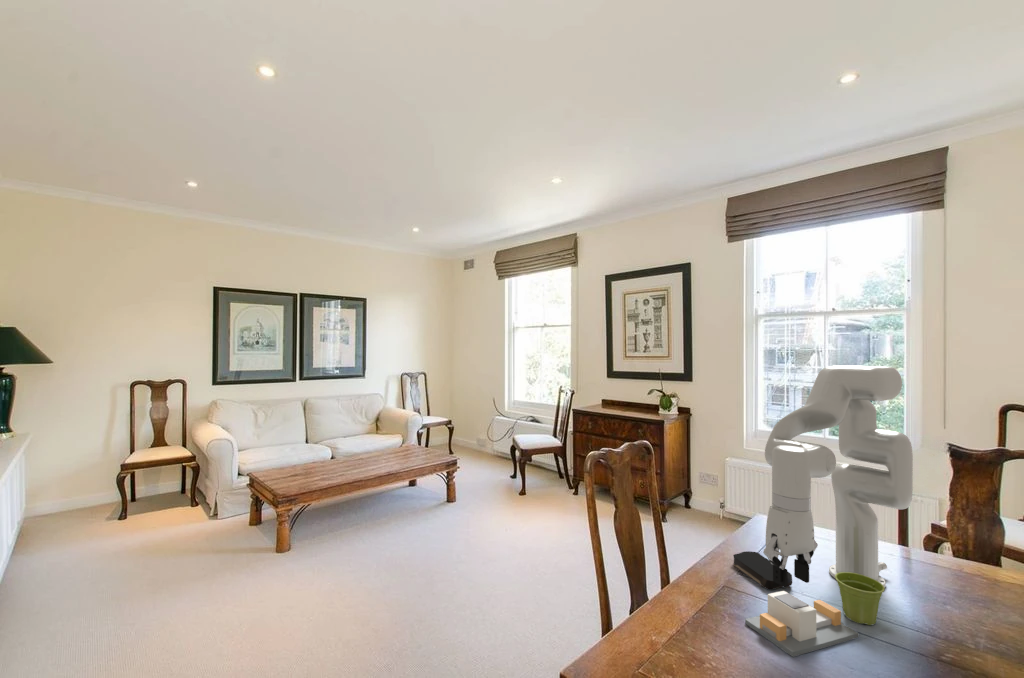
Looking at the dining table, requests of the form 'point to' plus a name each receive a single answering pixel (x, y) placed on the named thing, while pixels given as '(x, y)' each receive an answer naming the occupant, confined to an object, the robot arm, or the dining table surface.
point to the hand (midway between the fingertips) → (791, 581)
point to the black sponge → (758, 569)
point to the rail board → (826, 635)
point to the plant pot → (859, 596)
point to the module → (793, 614)
